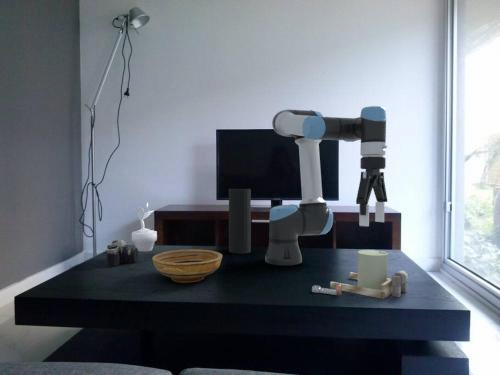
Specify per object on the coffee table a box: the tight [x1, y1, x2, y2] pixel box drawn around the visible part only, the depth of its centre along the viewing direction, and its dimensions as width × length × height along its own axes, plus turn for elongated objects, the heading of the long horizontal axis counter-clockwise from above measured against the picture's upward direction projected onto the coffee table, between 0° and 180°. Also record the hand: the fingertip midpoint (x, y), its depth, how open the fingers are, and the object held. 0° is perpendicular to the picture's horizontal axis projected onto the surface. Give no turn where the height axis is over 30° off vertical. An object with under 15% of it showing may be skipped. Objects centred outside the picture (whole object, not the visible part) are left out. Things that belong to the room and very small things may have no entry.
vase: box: [228, 188, 252, 255], centre depth 174 cm, size 10×10×30 cm
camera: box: [106, 239, 139, 268], centre depth 151 cm, size 16×10×10 cm, turn 1°
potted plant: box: [131, 201, 158, 253], centre depth 175 cm, size 13×12×25 cm
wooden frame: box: [329, 270, 409, 300], centre depth 118 cm, size 21×16×7 cm
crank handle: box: [311, 284, 343, 296], centre depth 113 cm, size 9×2×3 cm, turn 62°
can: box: [356, 249, 389, 291], centre depth 118 cm, size 9×9×12 cm
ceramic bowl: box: [151, 249, 223, 284], centre depth 130 cm, size 30×24×8 cm
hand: (372, 223), depth 118 cm, fingers open, 13 cm apart
